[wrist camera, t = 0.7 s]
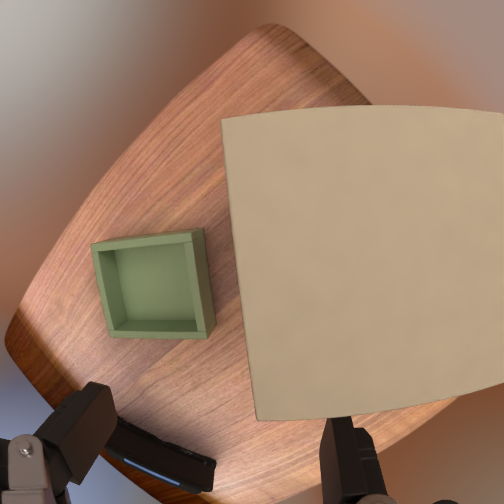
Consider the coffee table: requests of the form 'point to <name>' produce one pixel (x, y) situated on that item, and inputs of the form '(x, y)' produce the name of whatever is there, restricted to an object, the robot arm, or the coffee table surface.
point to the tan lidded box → (367, 255)
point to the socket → (155, 285)
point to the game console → (160, 458)
